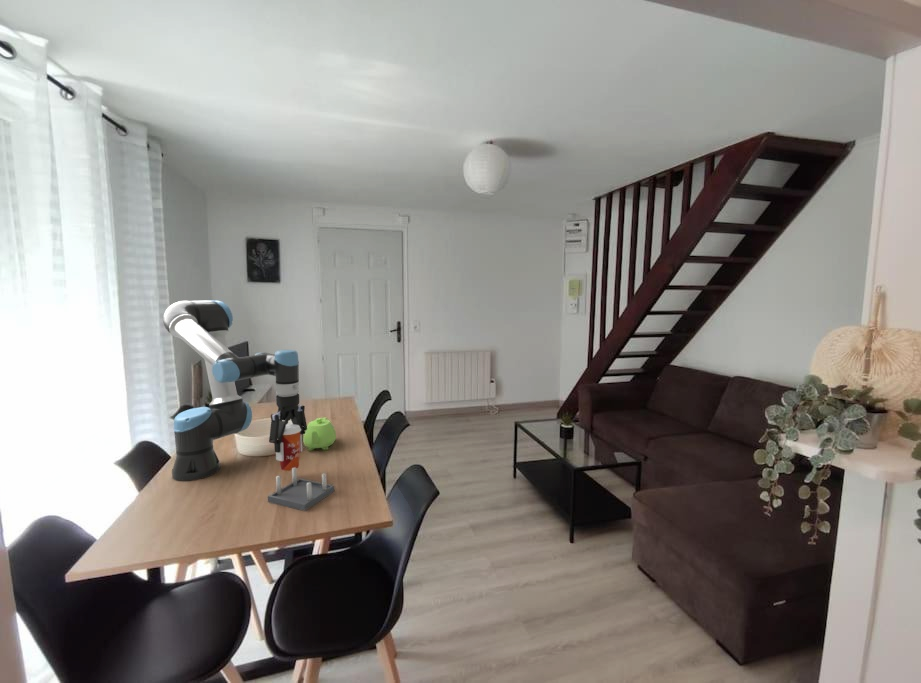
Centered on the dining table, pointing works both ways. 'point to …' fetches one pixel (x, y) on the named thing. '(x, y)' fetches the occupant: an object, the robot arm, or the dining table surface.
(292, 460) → the coffee cup
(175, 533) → the dining table surface
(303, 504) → the tray
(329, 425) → the teapot
